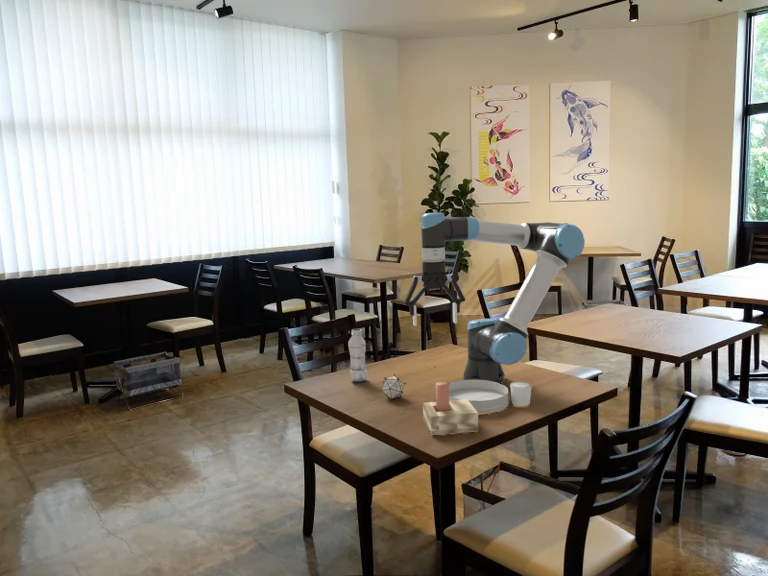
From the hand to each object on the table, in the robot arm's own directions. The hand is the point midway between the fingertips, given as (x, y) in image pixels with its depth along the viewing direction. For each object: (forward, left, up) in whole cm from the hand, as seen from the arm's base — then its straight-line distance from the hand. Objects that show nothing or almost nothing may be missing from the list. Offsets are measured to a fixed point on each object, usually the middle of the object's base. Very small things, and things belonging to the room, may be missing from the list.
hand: (435, 323), depth 203 cm
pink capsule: (+3, +23, -25) cm, 34 cm away
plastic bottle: (+24, -28, -27) cm, 46 cm away
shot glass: (-26, +10, -27) cm, 39 cm away
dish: (-12, +5, -27) cm, 30 cm away
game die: (+14, -6, -27) cm, 31 cm away
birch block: (+1, +23, -27) cm, 35 cm away
